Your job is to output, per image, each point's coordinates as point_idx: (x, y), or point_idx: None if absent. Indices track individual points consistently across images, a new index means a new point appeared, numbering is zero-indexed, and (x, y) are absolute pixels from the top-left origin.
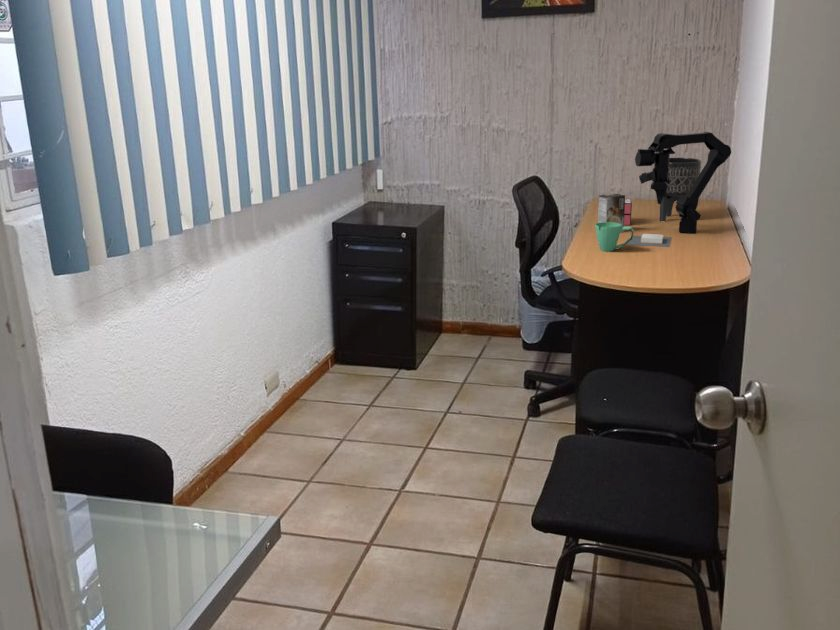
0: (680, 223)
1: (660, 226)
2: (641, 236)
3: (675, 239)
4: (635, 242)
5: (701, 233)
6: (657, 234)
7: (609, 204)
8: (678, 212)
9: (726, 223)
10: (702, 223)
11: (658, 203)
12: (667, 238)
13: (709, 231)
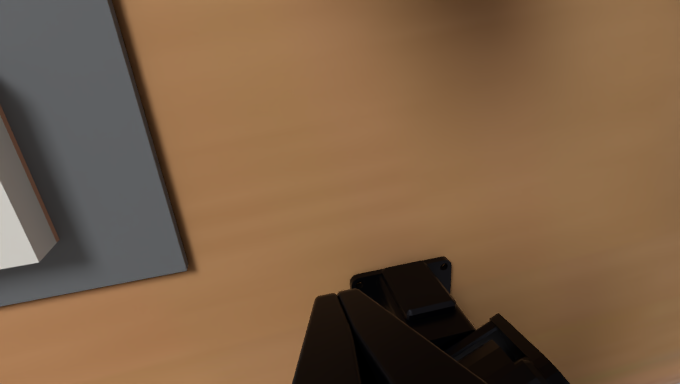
0: (403, 313)
1: (594, 99)
2: (89, 31)
3: (178, 290)
4: None
5: None
6: (12, 214)
7: None
8: (464, 358)
9: (655, 376)
10: (664, 295)
11: (318, 311)
12: (124, 256)
13: None
